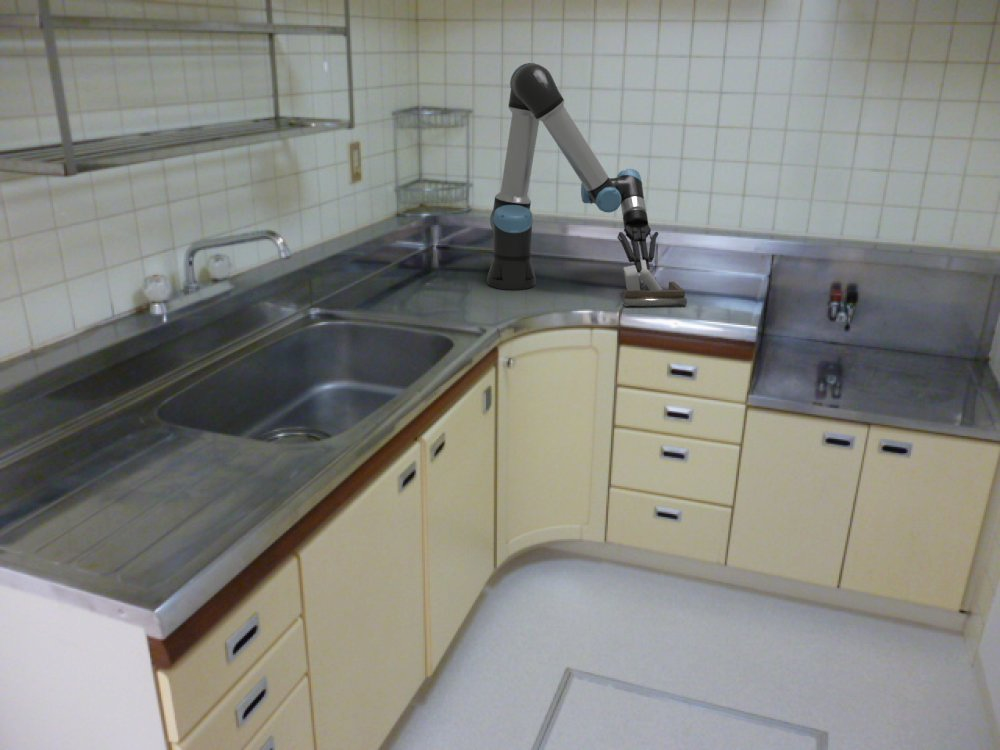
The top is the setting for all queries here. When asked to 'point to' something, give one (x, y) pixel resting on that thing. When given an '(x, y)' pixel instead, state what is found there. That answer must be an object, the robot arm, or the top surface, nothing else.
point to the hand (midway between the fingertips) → (644, 280)
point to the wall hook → (633, 279)
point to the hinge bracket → (656, 297)
